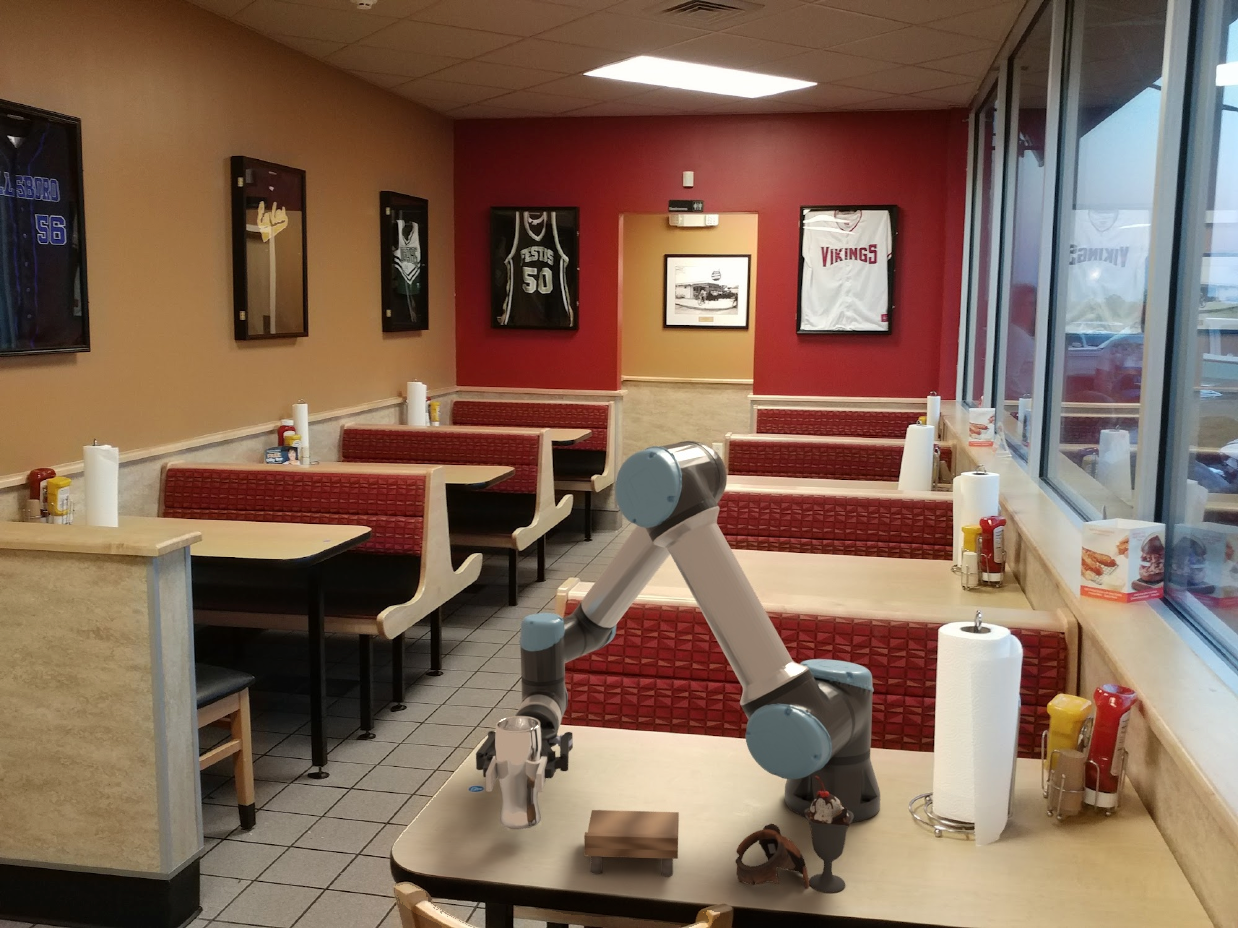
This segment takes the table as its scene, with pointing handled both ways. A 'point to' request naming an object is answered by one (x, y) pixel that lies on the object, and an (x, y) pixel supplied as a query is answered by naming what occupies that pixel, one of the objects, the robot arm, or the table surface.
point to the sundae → (828, 837)
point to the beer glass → (518, 770)
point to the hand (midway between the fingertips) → (513, 782)
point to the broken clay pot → (770, 857)
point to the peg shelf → (632, 837)
